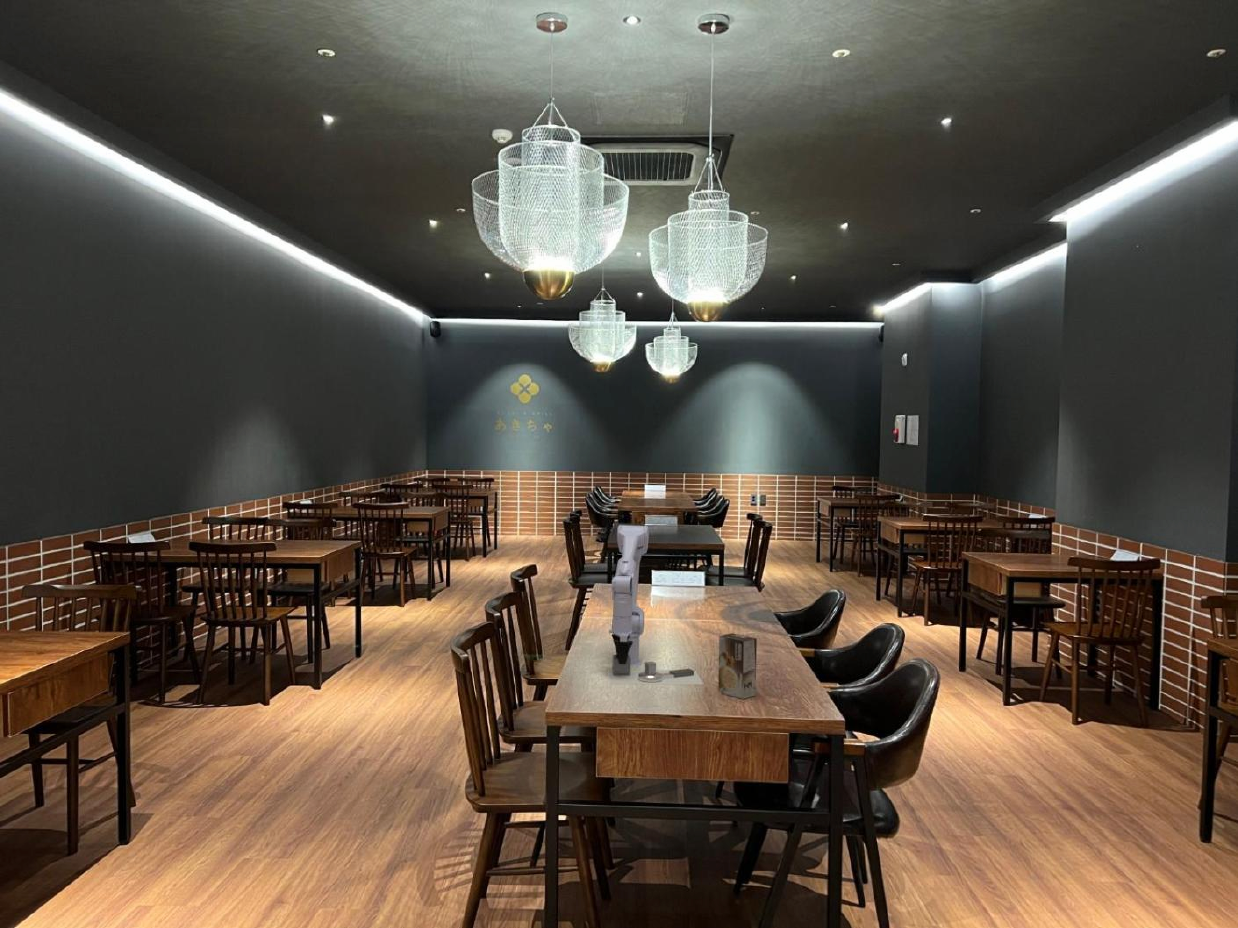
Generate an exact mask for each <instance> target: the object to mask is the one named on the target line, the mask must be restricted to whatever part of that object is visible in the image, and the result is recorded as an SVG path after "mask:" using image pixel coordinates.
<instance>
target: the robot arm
mask: <svg viewBox="0 0 1238 928" xmlns="http://www.w3.org/2000/svg"><path fill="white" fill-rule="evenodd" d="M649 536H650V533H649V527H648V525H626V524H625V525H624V524H623V525H622V524H619V525H618V527H617V532H616V541H617V545H618V546H617V547H618V549H619V550H618V551H619V552H620V553H621V554H622V556H621V558H619V559H618V561H617V565H616V570H615V571H616V572H615V575H614V576H613V577H612V580H611V596H612V601H613V602H612V605H613V606H612V619H611V629H609V630H608V633H609V634H611V637H612V639H613V641H612V642H613V644H614V647H615V648H614V649H615V655H617V656H618V662H619V664H626V662H627V658H628V655H629V656H630V659H631V661H630V666H641V665H642V664H641V662H640V661H641V660H640V636H642V635H643V634H644V632H645V612H644V609H643V608H642V607H640V606H639V605H637V603H638V602H637V601H638V598H637V597H638V589H639V587H638V586H639V574H640V573H639V572H640V563H641V559H642V556H643V555H645V554H647V551H648V549H649Z"/></svg>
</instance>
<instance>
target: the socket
mask: <svg viewBox="0 0 1238 928" xmlns="http://www.w3.org/2000/svg"><path fill="white" fill-rule="evenodd" d="M630 661H631V659H630V656H629V655H628V658H627V662H626V664H619V662H618V656H617V655H616V654H612V663H611V664H612V668H611V670H612V672H613V675H623V676H630V670H631V665H630Z"/></svg>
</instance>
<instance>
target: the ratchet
mask: <svg viewBox="0 0 1238 928" xmlns="http://www.w3.org/2000/svg"><path fill="white" fill-rule="evenodd" d="M644 670H645V672H640V673H639V674H638V680H639V681H642V682H647V683H656V682H661V681H662V679H669V678H678V677H686V676H694V671H693V670H694V669H692V668H684V669H675V670H674V669H673V670H674V671H669V673H662V674H661V673H658V672H656V670H657V663H656V662H654V661H645V662H644Z"/></svg>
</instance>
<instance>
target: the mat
mask: <svg viewBox="0 0 1238 928" xmlns="http://www.w3.org/2000/svg"><path fill="white" fill-rule="evenodd" d="M692 670H693V671H694V676H686V677H678V678H669V679H662V681H661V682H656V683H647V682H642V681H639V680H638V674H639V673H640V672H645V669H630V676H623V675H613V672H612V669H607V670H606V672H607V676H608V680H609V685H705V684H704V682H703V680H702V679H701V678H700V676H699V674H698V673H697V671H696V670H694V669H692ZM669 671H674V669H672V670H671V669H670V670H669V669H658V670H657V669H656V672H658V673H661V674H662V673H669Z"/></svg>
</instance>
